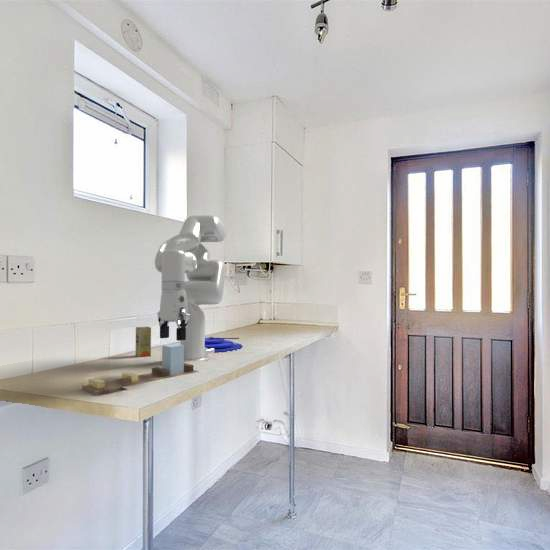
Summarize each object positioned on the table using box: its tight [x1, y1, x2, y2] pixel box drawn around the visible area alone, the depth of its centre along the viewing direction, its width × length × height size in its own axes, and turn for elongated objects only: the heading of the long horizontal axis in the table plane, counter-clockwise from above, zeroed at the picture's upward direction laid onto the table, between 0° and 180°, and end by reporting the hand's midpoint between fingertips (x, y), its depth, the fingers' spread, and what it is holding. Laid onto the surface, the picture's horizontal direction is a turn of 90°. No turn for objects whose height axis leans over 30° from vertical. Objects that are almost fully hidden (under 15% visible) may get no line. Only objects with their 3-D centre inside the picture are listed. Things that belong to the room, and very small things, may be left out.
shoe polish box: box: [135, 325, 152, 358], centre depth 167 cm, size 5×5×12 cm
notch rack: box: [81, 362, 200, 396], centre depth 123 cm, size 34×10×3 cm, turn 137°
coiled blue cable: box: [205, 336, 243, 354], centre depth 189 cm, size 30×6×30 cm
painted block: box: [161, 343, 185, 375], centre depth 131 cm, size 5×5×9 cm
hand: (172, 339), depth 130 cm, fingers open, 9 cm apart
